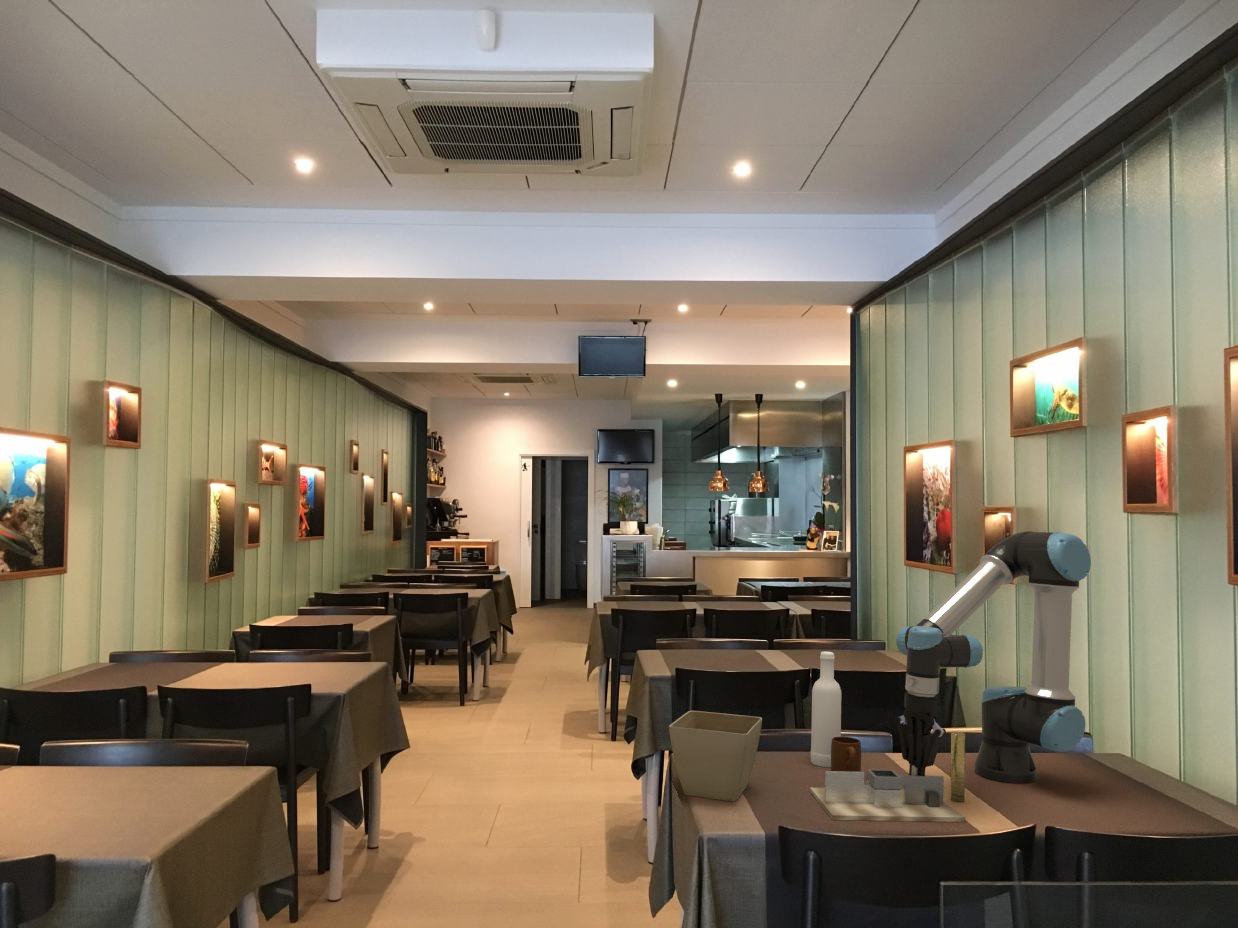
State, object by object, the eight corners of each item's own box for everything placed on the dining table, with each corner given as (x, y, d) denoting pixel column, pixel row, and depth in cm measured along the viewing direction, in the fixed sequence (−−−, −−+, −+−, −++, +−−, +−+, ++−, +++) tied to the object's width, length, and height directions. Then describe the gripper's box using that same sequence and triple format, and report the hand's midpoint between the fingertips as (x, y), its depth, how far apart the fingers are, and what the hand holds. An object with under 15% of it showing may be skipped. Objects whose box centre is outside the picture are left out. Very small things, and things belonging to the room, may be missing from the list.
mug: (868, 786, 227) (869, 748, 227) (838, 785, 227) (838, 747, 227) (856, 772, 239) (857, 736, 239) (827, 771, 239) (828, 735, 239)
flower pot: (665, 797, 214) (667, 725, 214) (687, 775, 232) (689, 709, 232) (745, 808, 207) (747, 734, 208) (761, 785, 225) (763, 717, 226)
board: (931, 793, 222) (931, 789, 222) (965, 821, 202) (965, 817, 202) (810, 791, 221) (810, 787, 221) (832, 819, 201) (832, 815, 201)
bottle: (844, 762, 248) (846, 652, 249) (834, 769, 241) (836, 655, 242) (816, 757, 252) (818, 649, 253) (806, 763, 245) (808, 652, 247)
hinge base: (930, 799, 214) (930, 769, 215) (940, 808, 208) (940, 777, 208) (821, 797, 213) (822, 767, 214) (828, 806, 207) (829, 775, 208)
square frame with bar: (938, 798, 214) (938, 771, 214) (947, 807, 208) (948, 778, 208) (866, 797, 214) (867, 769, 214) (874, 805, 208) (874, 776, 208)
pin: (961, 798, 219) (962, 731, 220) (967, 802, 216) (967, 734, 217) (948, 798, 219) (949, 731, 220) (953, 802, 216) (954, 734, 217)
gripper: (889, 688, 217) (884, 786, 217) (934, 700, 207) (928, 804, 206) (909, 685, 221) (904, 782, 221) (954, 697, 211) (948, 799, 211)
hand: (916, 793), depth 214 cm, fingers closed
